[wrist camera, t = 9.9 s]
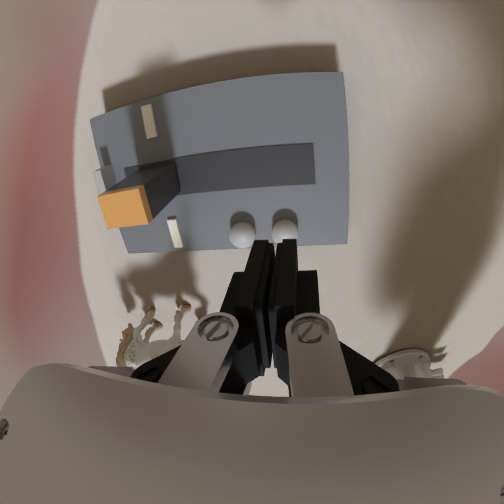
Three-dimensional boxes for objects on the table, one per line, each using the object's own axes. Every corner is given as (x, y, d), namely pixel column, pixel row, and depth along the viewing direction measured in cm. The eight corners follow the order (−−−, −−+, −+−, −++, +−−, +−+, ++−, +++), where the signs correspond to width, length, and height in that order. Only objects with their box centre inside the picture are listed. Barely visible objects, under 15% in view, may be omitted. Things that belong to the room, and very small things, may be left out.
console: (336, 74, 20) (347, 69, 16) (342, 229, 28) (350, 255, 24) (106, 115, 24) (77, 122, 20) (139, 240, 32) (120, 263, 28)
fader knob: (174, 163, 23) (138, 188, 18) (180, 191, 25) (148, 224, 19) (137, 170, 24) (97, 196, 18) (144, 196, 25) (107, 228, 20)
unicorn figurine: (247, 305, 36) (228, 394, 24) (159, 344, 44) (131, 408, 32) (211, 267, 33) (175, 355, 22) (128, 317, 41) (92, 381, 30)
